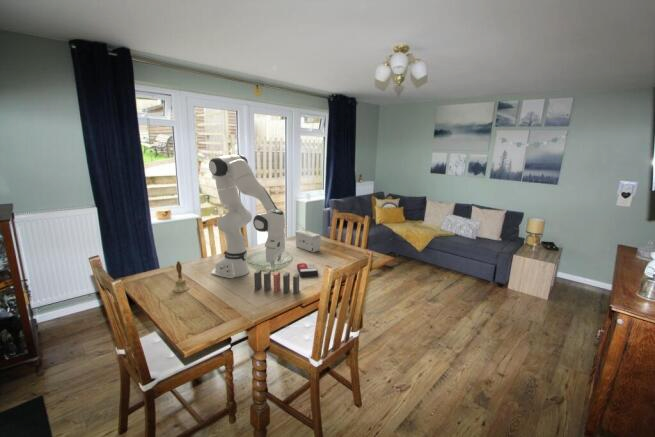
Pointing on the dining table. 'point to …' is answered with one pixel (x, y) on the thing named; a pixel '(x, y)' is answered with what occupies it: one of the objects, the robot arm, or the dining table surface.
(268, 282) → the domino
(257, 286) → the domino
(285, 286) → the domino
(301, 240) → the stereo radio cassette player
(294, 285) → the domino
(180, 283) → the hand bell
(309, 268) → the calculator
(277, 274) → the domino
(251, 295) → the dining table surface
